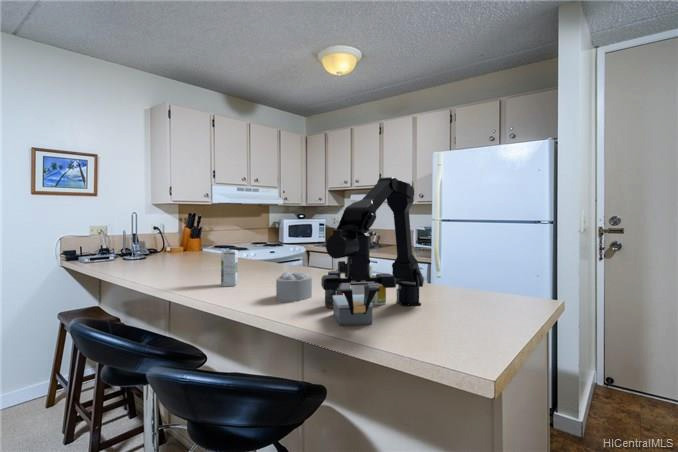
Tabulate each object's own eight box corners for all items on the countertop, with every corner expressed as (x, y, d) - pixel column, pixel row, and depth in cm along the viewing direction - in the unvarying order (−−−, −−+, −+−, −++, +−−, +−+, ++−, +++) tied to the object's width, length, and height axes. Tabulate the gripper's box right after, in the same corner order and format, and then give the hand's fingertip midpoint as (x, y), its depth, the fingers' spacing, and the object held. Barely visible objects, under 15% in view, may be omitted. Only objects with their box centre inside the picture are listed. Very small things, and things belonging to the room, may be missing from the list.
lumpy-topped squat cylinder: (315, 296, 128) (315, 272, 128) (290, 304, 118) (290, 278, 117) (294, 292, 134) (294, 269, 134) (268, 299, 124) (268, 274, 124)
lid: (363, 296, 107) (363, 291, 107) (377, 311, 91) (377, 305, 91) (332, 298, 106) (332, 292, 106) (341, 313, 90) (341, 307, 90)
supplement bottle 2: (387, 301, 120) (387, 273, 120) (384, 305, 115) (384, 276, 115) (371, 300, 122) (371, 272, 122) (367, 304, 117) (368, 275, 117)
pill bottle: (376, 294, 130) (376, 254, 130) (366, 299, 124) (366, 256, 123) (357, 292, 135) (357, 252, 134) (346, 296, 128) (346, 255, 127)
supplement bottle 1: (341, 309, 111) (341, 273, 110) (323, 308, 112) (322, 272, 112) (345, 304, 117) (345, 270, 116) (327, 303, 118) (327, 269, 117)
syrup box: (223, 283, 150) (223, 249, 150) (238, 283, 151) (237, 249, 150) (220, 286, 145) (220, 251, 144) (235, 286, 145) (235, 251, 145)
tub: (362, 312, 107) (363, 298, 107) (372, 324, 96) (372, 307, 96) (333, 314, 106) (333, 299, 106) (339, 326, 95) (339, 309, 95)
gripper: (384, 250, 101) (384, 304, 102) (319, 251, 98) (319, 307, 99) (397, 255, 90) (396, 316, 91) (323, 256, 87) (324, 319, 88)
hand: (358, 314), depth 92 cm, fingers closed on lid, 3 cm apart
